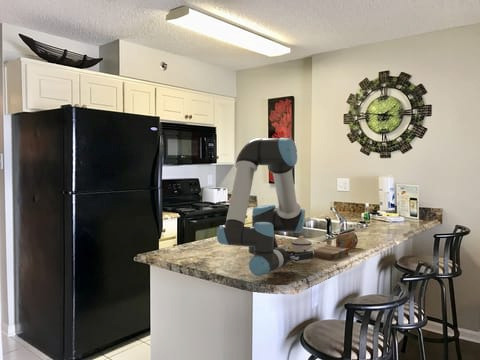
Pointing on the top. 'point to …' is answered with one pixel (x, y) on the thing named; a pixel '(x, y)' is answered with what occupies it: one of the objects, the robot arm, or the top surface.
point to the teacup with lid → (301, 247)
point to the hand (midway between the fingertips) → (298, 249)
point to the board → (330, 252)
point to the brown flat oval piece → (347, 240)
